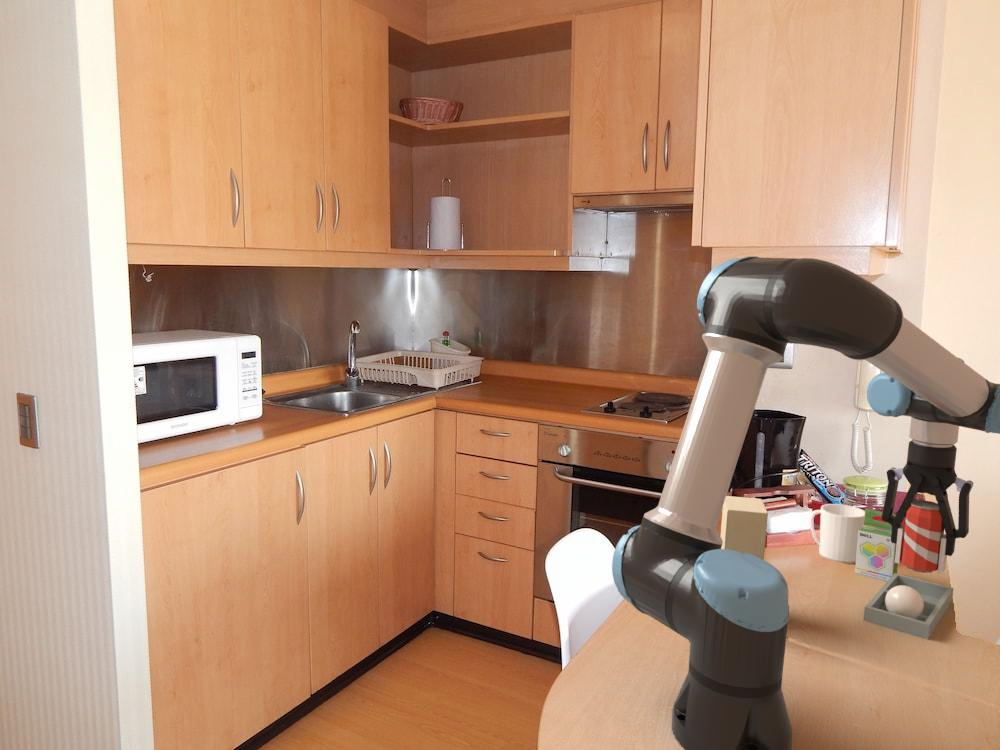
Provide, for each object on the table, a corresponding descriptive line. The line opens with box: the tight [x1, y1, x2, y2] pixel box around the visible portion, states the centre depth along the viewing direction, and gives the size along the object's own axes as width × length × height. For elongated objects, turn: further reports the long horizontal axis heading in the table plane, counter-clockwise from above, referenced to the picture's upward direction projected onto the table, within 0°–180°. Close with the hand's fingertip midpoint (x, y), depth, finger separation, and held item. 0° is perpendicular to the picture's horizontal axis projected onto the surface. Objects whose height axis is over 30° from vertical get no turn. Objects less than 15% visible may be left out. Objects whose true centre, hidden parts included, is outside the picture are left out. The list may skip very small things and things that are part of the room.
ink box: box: [854, 508, 899, 583], centre depth 154 cm, size 7×4×13 cm, turn 50°
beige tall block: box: [720, 495, 769, 560], centre depth 134 cm, size 8×7×21 cm
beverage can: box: [900, 499, 945, 574], centre depth 141 cm, size 6×6×12 cm
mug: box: [809, 503, 865, 565], centre depth 166 cm, size 11×9×10 cm
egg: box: [885, 585, 924, 619], centre depth 135 cm, size 6×6×6 cm
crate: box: [862, 573, 955, 640], centre depth 139 cm, size 20×10×3 cm, turn 140°
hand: (919, 565), depth 142 cm, fingers closed on beverage can, 6 cm apart
